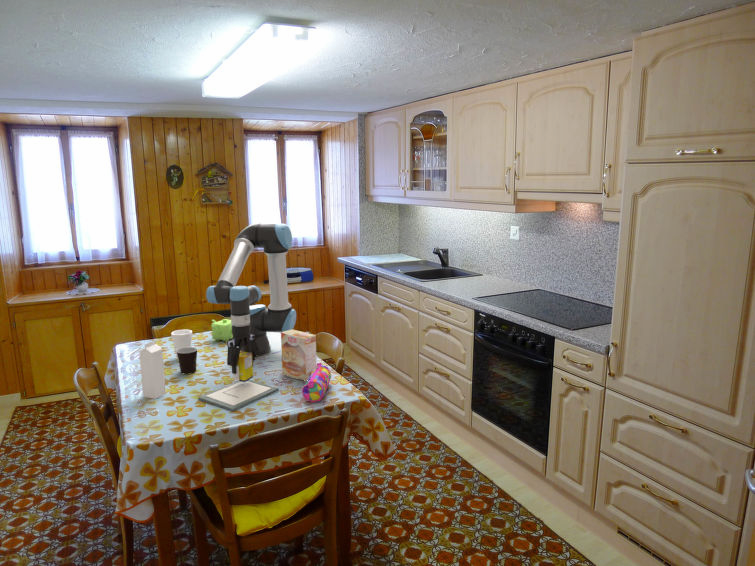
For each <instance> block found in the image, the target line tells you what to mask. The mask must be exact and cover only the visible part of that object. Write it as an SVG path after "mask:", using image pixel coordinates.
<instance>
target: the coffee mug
mask: <svg viewBox="0 0 755 566" xmlns="http://www.w3.org/2000/svg"><path fill="white" fill-rule="evenodd" d="M177 355H178V360H177V361H178V366H179V369H180V373H181V374H182V373H184V374H183V375H189V373H191V374H194V373H196V372H197V361H198V359H197V358H198V348H197V347H193V346H191V347H186V348H181V349H179V350H177ZM195 371H196V372H195Z"/></svg>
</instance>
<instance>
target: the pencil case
mask: <svg viewBox="0 0 755 566" xmlns="http://www.w3.org/2000/svg"><path fill="white" fill-rule="evenodd" d="M331 379H332V374H331V371H330V368H329V367H328V366H326V365H324V364H323V363H322V362H318V363H317V362H316V367H315V368H314V369H313V370H312V371H311V372H310V374H309V378H308V381H307V382H305V384H304V385H303V386H302V389H301V393H302V396H303V398H304V400H306V401H308V402H309V401H310V402H311V403H317V402H316V401H318V402H320V401H322V400H323V398H324V396H325V394H326V391H327V390H328V386H329V385H330V382H331Z"/></svg>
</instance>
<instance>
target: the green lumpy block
mask: <svg viewBox="0 0 755 566" xmlns="http://www.w3.org/2000/svg"><path fill="white" fill-rule="evenodd" d="M211 321H212V323H211V334H212V336H211V337H212V339H214V340H216V341H217V342H218V341H221V340H222V341H223V342H224V343H227V342H228V341H229V340H230V339H231V340H232V339H233V335H232V328H231V326H232V324H231V319H227V318H223V319H221V320H219V321H216V320H215V319H211Z"/></svg>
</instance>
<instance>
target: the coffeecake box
mask: <svg viewBox="0 0 755 566" xmlns="http://www.w3.org/2000/svg"><path fill="white" fill-rule="evenodd" d="M316 336H317V335H316V334H313V333H309V332H305V331H300V330H296V329H294V328H293V329H291V330H288V331H284V332H281V333H280V340H281V341H280V343H281V347H280V348H281V349H280V350H281V371H282V372H281V373H282V374H283V375H282V376H285V375H287V376H286V377H289V376H290V377H289V378H292V377H293V378H292V379H295V378H297V379H296V380H298V379H301V380H305V381H307V380H308V378H309V374H310V372H311V371H312V370H313V369H314V368H315V367H316V366H317V337H316ZM301 380H300V381H301ZM305 381H304V382H305Z"/></svg>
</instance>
